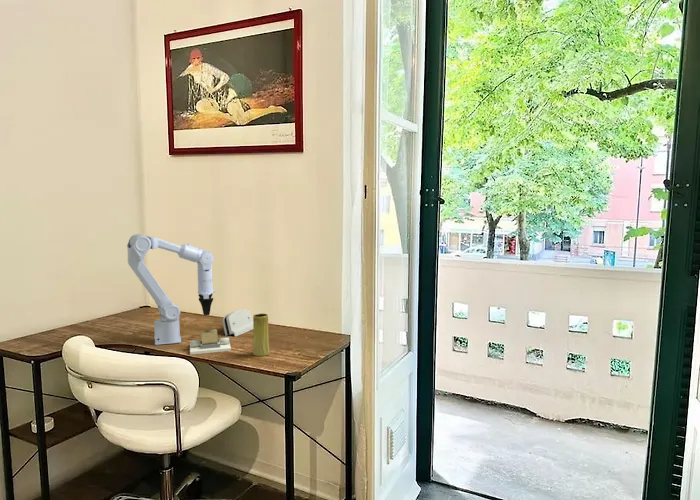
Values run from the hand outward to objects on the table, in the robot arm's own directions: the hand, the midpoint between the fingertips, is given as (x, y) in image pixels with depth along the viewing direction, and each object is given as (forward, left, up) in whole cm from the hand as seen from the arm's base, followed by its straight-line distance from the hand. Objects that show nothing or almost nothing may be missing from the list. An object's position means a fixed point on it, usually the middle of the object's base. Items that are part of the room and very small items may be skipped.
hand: (206, 313), depth 203 cm
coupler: (+1, -18, -8) cm, 20 cm away
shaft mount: (+1, -18, -9) cm, 20 cm away
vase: (+18, -31, -10) cm, 37 cm away
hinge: (+13, +3, -10) cm, 17 cm away
